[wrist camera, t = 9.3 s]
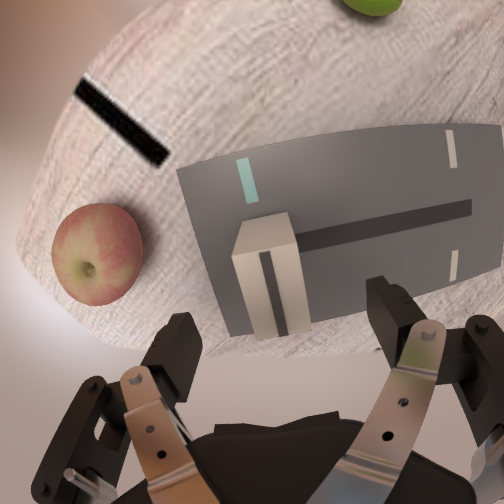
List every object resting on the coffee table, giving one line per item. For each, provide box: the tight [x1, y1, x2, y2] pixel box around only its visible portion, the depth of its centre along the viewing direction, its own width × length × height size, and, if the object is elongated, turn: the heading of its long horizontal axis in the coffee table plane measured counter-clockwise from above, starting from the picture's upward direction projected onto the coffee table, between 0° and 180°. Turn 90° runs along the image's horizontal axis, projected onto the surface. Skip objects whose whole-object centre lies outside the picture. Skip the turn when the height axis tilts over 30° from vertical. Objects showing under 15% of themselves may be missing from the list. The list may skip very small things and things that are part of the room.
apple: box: [52, 203, 143, 306], centre depth 19 cm, size 8×8×8 cm
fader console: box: [176, 124, 504, 337], centre depth 19 cm, size 28×14×3 cm, turn 104°
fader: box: [231, 212, 312, 340], centre depth 16 cm, size 3×5×6 cm, turn 14°
